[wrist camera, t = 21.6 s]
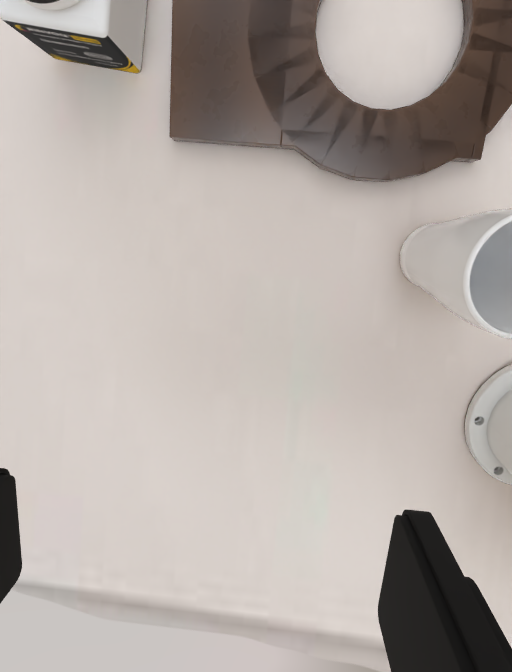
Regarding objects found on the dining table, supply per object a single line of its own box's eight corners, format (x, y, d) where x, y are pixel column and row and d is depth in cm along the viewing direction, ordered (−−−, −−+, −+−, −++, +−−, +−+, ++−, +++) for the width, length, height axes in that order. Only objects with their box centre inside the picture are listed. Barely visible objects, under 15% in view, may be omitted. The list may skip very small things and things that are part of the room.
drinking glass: (374, 276, 36) (437, 310, 22) (413, 200, 34) (509, 182, 20) (445, 307, 37) (553, 362, 22) (487, 234, 35) (634, 240, 20)
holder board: (567, -134, 29) (582, -153, 27) (498, 190, 34) (507, 189, 32) (181, -153, 29) (176, -172, 28) (173, 166, 35) (168, 163, 33)
